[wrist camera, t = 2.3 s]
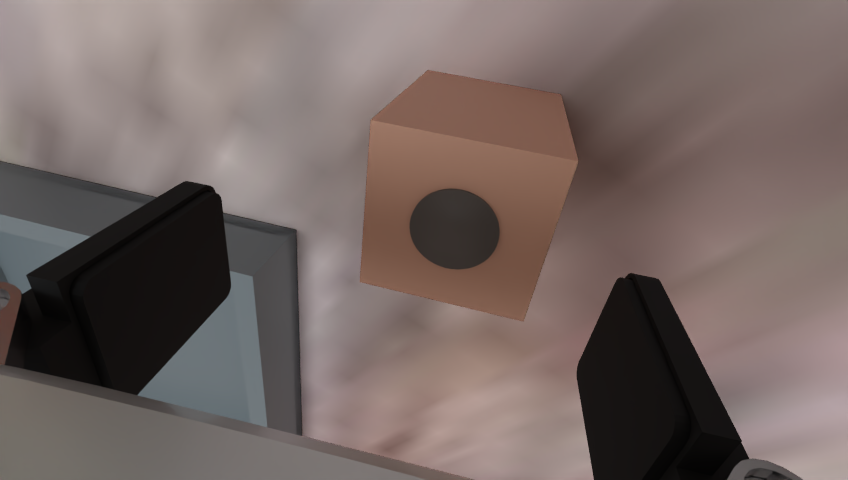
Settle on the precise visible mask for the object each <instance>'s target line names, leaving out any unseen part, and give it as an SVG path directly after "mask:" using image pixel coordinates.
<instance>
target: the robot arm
mask: <svg viewBox="0 0 848 480" xmlns="http://www.w3.org/2000/svg"><path fill="white" fill-rule="evenodd" d="M26 276H27V279H28V281H29V284H30V286H31V289H30V290H28V291H26V292H25V293H23V294H22V292H21V290H20V289H18V288H17V287H16V286H15V285H13V284H9V283H6V282H0V480H473V479H470V478H466V477H462V476H458V475H454V474H450V473H446V472H442V471H438V470H434V469H430V468H427V467H423V466H419V465H415V464H411V463H407V462H403V461H399V460H395V459H391V458H387V457H384V456H380V455H376V454H372V453H368V452H364V451H360V450H356V449H352V448H348V447H344V446H340V445H336V444H332V443H328V442H324V441H320V440H316V439H312V438H308V437H304V436H300V435H296V434H292V433H288V432H284V431H280V430H276V429H272V428H268V427H264V426H260V425H256V424H252V423H248V422H244V421H240V420H236V419H232V418H228V417H224V416H220V415H215V414H211V413H207V412H203V411H199V410H195V409H191V408H187V407H183V406H179V405H175V404H170V403H166V402H162V401H158V400H154V399H150V398H146V397H142V396H138V394H139V393H140V392H141V391H142V390H143V388H144V387H145V386H146V385H147V384H148V383H149V382H150V381H151V380H152V379H153V378H154V376H155V375H156V374H157V373H158V372H159V371H160V370H161V369H162V368H163V367H164V366H165V365H166V363H167V362H168V361H169V360H170V359H171V358H172V357H173V356H174V355H175V354H176V353H177V351H178V350H179V349H180V348H181V347H182V346H183V345H184V344H185V343H186V342H187V341H188V339H189V338H190V337H191V336H192V335H193V334H194V333H195V332H196V331H197V330H198V329H199V328H200V326H201V325H202V324H203V323H204V322H205V321H206V320H207V319H208V318H209V317H210V316H211V314H212V313H213V312H214V311H215V310H216V309H217V308H218V307H219V306H220V305H221V304H222V302H223V301H224V300H225V299H226V298H227V297H228V295H229V293H230V290H231V277H230V269H229V260H228V252H227V243H226V235H225V226H224V218H223V209H222V201H221V197H220V195H219V194H217V193H216V192H215V190H214V188H213V187H211V186H208V185H203V184H198V183H194V182H188V181H185V182H183V183H181V184H179V185H177V186H176V187H174V188H172V189H171V190H169V191H167V192H166V193H164V194H162V195H160V196H159V197H157V198H155V199H154V200H152V201H150V202H149V203H147V204H145V205H143V206H142V207H140V208H138V209H137V210H135V211H133V212H132V213H130V214H128V215H127V216H125V217H123V218H121V219H120V220H118V221H116V222H115V223H113V224H111V225H110V226H108V227H106V228H105V229H103V230H101V231H99V232H98V233H96V234H94V235H93V236H91V237H89V238H88V239H86V240H84V241H82V242H81V243H79V244H77V245H76V246H74V247H72V248H71V249H69V250H67V251H66V252H64V253H62V254H60V255H59V256H57V257H55V258H54V259H52V260H50V261H49V262H47V263H45V264H44V265H42V266H40V267H38V268H37V269H35V270H33V271H32V272H30V273H28V274H27V275H26ZM577 382H578V388H579V393H580V399H581V405H582V411H583V417H584V423H585V429H586V435H587V441H588V447H589V452H590V458H591V464H592V470H593V476H594V480H803V479H801V478H800V477H798V476H797V475H795V474H793V473H792V472H790V471H788V470H787V469H785V468H783V467H781V466H779V465H776V464H774V463H771V462H769V461H765V460H759V459H749V457H748V455H747V453H746V451H745V449H744V447H743V445H742V443H741V442H742V440H741V439H740V437H739V435H738V433H737V431H736V429H735V427H734V425H733V423H732V421H731V419H730V417H729V415H728V413H727V411H726V409H725V407H724V405H723V403H722V401H721V399H720V397H719V395H718V393H717V392H716V390H715V388H714V386H713V384H712V382H711V380H710V378H709V376H708V374H707V372H706V370H705V368H704V366H703V364H702V362H701V360H700V358H699V356H698V354H697V352H696V350H695V348H694V346H693V345H692V343H691V341H690V339H689V337H688V335H687V333H686V331H685V329H684V327H683V325H682V323H681V321H680V319H679V317H678V315H677V313H676V311H675V309H674V307H673V305H672V303H671V301H670V299H669V298H668V296H667V294H666V292H665V290H664V288H663V286H662V284H661V282H660V281H659V279H656V278H652V277H647V276H642V275H637V274H633V273H630V274H628V275H627V276H626V278H618V279H617V280H616V282H615V284H614V286H613V289H612V291H611V293H610V295H609V297H608V300H607V302H606V304H605V306H604V308H603V310H602V313H601V315H600V317H599V319H598V321H597V324H596V326H595V328H594V330H593V332H592V334H591V337H590V339H589V341H588V343H587V345H586V348H585V350H584V352H583V354H582V356H581V359H580V361H579V363H578V367H577Z"/></svg>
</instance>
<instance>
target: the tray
mask: <svg viewBox="0 0 848 480" xmlns="http://www.w3.org/2000/svg"><path fill="white" fill-rule="evenodd" d="M155 198H156V197H152V196H147V195H143V194H139V193H134V192H130V191H126V190H121V189H117V188H113V187H108V186H104V185H100V184H96V183H91V182H87V181H83V180H78V179H74V178H70V177H65V176H61V175H57V174H52V173H48V172H44V171H40V170H35V169H31V168H27V167H22V166H18V165H14V164H9V163H5V162H1V161H0V282H6V283H9V284H13V285H15V286H16V287H17V288H18V289H20V290H21V292H22V294H23V293H25V292H26V291H28V290H30V289H31V286H30V284H29V281H28V279H27V276H26V275H27V274H28V273H30V272H32V271H33V270H35V269H37V268H38V267H40V266H42V265H44V264H45V263H47V262H49V261H50V260H52V259H54V258H55V257H57V256H59V255H60V254H62V253H64V252H66V251H67V250H69V249H71V248H72V247H74V246H76V245H77V244H79V243H81V242H82V241H84V240H86V239H88V238H89V237H91V236H93V235H94V234H96V233H98V232H99V231H101V230H103V229H105V228H106V227H108V226H110V225H111V224H113V223H115V222H116V221H118V220H120V219H121V218H123V217H125V216H127V215H128V214H130V213H132V212H133V211H135V210H137V209H138V208H140V207H142V206H143V205H145V204H147V203H149V202H150V201H152V200H154V199H155ZM223 218H224V226H225V235H226V243H227V252H228V260H229V269H230V277H231V290H230V293H229V295H228V297H227V298H226V299H225V300H224V301H223V302H222V304H221V305H220V306H219V307H218V308H217V309H216V310H215V311H214V312H213V313H212V314H211V316H210V317H209V318H208V319H207V320H206V321H205V322H204V323H203V324H202V325H201V326H200V328H199V329H198V330H197V331H196V332H195V333H194V334H193V335H192V336H191V337H190V338H189V339H188V341H187V342H186V343H185V344H184V345H183V346H182V347H181V348H180V349H179V350H178V351H177V353H176V354H175V355H174V356H173V357H172V358H171V359H170V360H169V361H168V362H167V363H166V365H165V366H164V367H163V368H162V369H161V370H160V371H159V372H158V373H157V374H156V375H155V376H154V378H153V379H152V380H151V381H150V382H149V383H148V384H147V385H146V386H145V387H144V388H143V390H142V391H141V392H140V393H139V394H138V396H142V397H146V398H150V399H154V400H158V401H162V402H166V403H170V404H175V405H179V406H183V407H187V408H191V409H195V410H199V411H203V412H207V413H211V414H215V415H220V416H224V417H228V418H232V419H236V420H240V421H244V422H248V423H252V424H256V425H260V426H264V427H268V428H272V429H276V430H280V431H284V432H288V433H292V434H296V435H300V436H302V419H301V385H300V350H299V316H298V282H297V248H296V230H294V229H289V228H285V227H281V226H277V225H272V224H268V223H264V222H259V221H255V220H251V219H246V218H242V217H238V216H233V215H229V214H225V213H223Z"/></svg>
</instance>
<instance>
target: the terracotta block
mask: <svg viewBox="0 0 848 480" xmlns="http://www.w3.org/2000/svg"><path fill="white" fill-rule="evenodd" d="M578 162H579V161H578V157H577V154H576V150H575V146H574V142H573V138H572V135H571V131H570V127H569V123H568V119H567V116H566V112H565V108H564V104H563V100H562V97H561V94H556V93H550V92H545V91H539V90H534V89H528V88H523V87H517V86H512V85H507V84H501V83H496V82H490V81H485V80H479V79H474V78H468V77H463V76H458V75H452V74H447V73H441V72H436V71H430V70H427V71H426V72H425V73H424V74H423V75H422V76H421V77H419V78H418V79H417V80H416V81H415V82H414V83H412V84H411V85H410V86H409V87H408V88H407V89H406V90H404V91H403V92H402V93H401V94H400V95H399V96H398V97H396V98H395V99H394V100H393V101H392V102H391V103H390V104H388V105H387V106H386V107H385V108H384V109H383V110H382V111H380V112H379V113H378V114H377V115H376V116H375V117H373V118H372V119H371V122H370V137H369V152H368V167H367V182H366V197H365V212H364V226H363V241H362V256H361V271H360V282H362V283H366V284H370V285H374V286H379V287H383V288H387V289H391V290H395V291H399V292H403V293H408V294H412V295H416V296H420V297H424V298H428V299H432V300H437V301H441V302H445V303H449V304H453V305H457V306H461V307H465V308H470V309H474V310H478V311H482V312H486V313H490V314H494V315H499V316H503V317H507V318H511V319H515V320H519V321H523V322H524V319H525V316H526V313H527V310H528V307H529V304H530V301H531V298H532V295H533V292H534V290H535V287H536V284H537V281H538V278H539V275H540V272H541V269H542V266H543V263H544V261H545V258H546V255H547V252H548V249H549V246H550V243H551V240H552V237H553V234H554V231H555V229H556V226H557V223H558V220H559V217H560V214H561V211H562V208H563V205H564V202H565V199H566V197H567V194H568V191H569V188H570V185H571V182H572V179H573V176H574V173H575V170H576V168H577V165H578Z"/></svg>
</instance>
